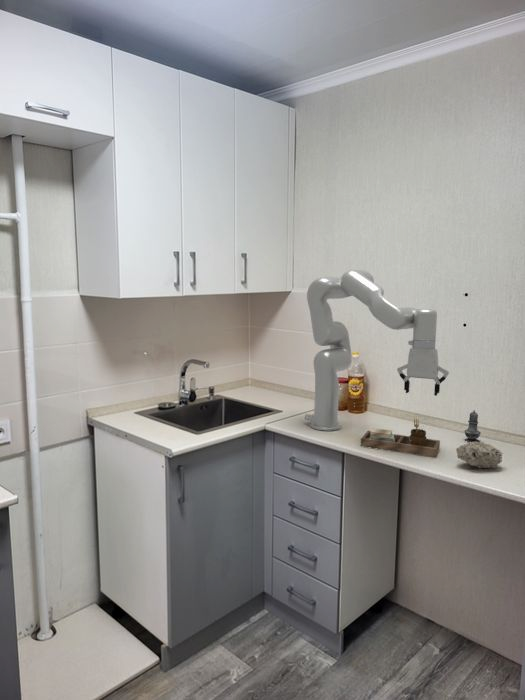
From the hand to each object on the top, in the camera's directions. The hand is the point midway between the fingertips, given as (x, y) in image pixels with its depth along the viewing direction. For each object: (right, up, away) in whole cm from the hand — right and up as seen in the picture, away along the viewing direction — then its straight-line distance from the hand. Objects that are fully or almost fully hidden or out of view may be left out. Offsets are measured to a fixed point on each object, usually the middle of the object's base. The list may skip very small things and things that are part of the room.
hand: (421, 393), depth 188 cm
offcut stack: (-12, -20, +8) cm, 24 cm away
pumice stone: (+14, -23, -12) cm, 30 cm away
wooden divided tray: (-6, -20, +5) cm, 21 cm away
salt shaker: (+23, -19, +15) cm, 34 cm away
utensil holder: (-1, -20, +3) cm, 21 cm away
